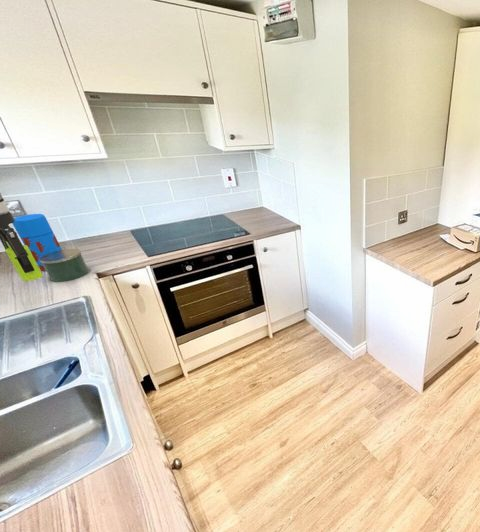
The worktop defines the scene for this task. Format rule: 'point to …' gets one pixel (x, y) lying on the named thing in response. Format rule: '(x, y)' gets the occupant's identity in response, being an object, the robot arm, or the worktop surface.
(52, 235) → the blue spotted box
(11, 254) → the soap dispenser
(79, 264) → the tin
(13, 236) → the robot arm
